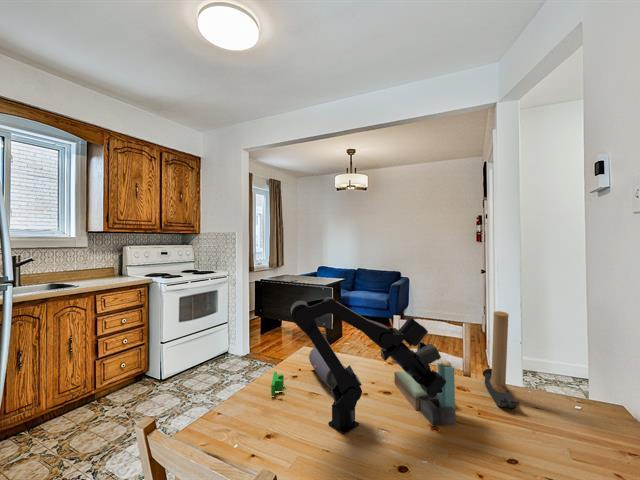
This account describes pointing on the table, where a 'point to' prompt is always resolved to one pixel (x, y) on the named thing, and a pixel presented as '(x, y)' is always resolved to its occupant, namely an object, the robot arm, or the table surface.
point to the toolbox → (424, 401)
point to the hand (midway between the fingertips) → (440, 391)
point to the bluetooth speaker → (322, 368)
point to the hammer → (499, 363)
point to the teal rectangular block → (447, 385)
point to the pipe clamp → (277, 383)
